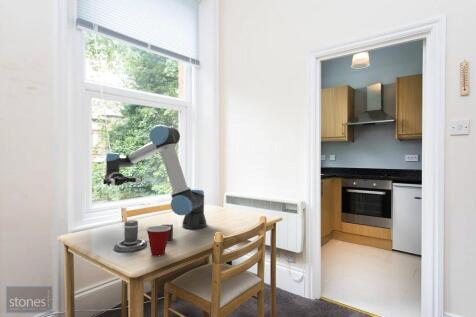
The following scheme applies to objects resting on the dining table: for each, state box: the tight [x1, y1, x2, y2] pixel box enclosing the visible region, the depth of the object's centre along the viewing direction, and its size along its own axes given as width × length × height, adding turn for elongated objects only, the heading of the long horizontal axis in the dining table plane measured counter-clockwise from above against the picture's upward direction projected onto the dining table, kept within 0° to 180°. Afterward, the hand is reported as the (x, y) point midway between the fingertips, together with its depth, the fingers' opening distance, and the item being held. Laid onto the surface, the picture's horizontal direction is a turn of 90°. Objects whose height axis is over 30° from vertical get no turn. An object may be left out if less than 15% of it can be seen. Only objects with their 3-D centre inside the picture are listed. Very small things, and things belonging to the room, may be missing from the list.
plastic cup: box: [145, 225, 171, 257], centre depth 117 cm, size 11×11×12 cm
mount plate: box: [113, 238, 148, 253], centre depth 125 cm, size 15×15×2 cm
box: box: [160, 224, 174, 242], centre depth 136 cm, size 6×6×7 cm
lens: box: [123, 219, 139, 246], centre depth 125 cm, size 6×6×11 cm
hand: (127, 182), depth 139 cm, fingers open, 13 cm apart
